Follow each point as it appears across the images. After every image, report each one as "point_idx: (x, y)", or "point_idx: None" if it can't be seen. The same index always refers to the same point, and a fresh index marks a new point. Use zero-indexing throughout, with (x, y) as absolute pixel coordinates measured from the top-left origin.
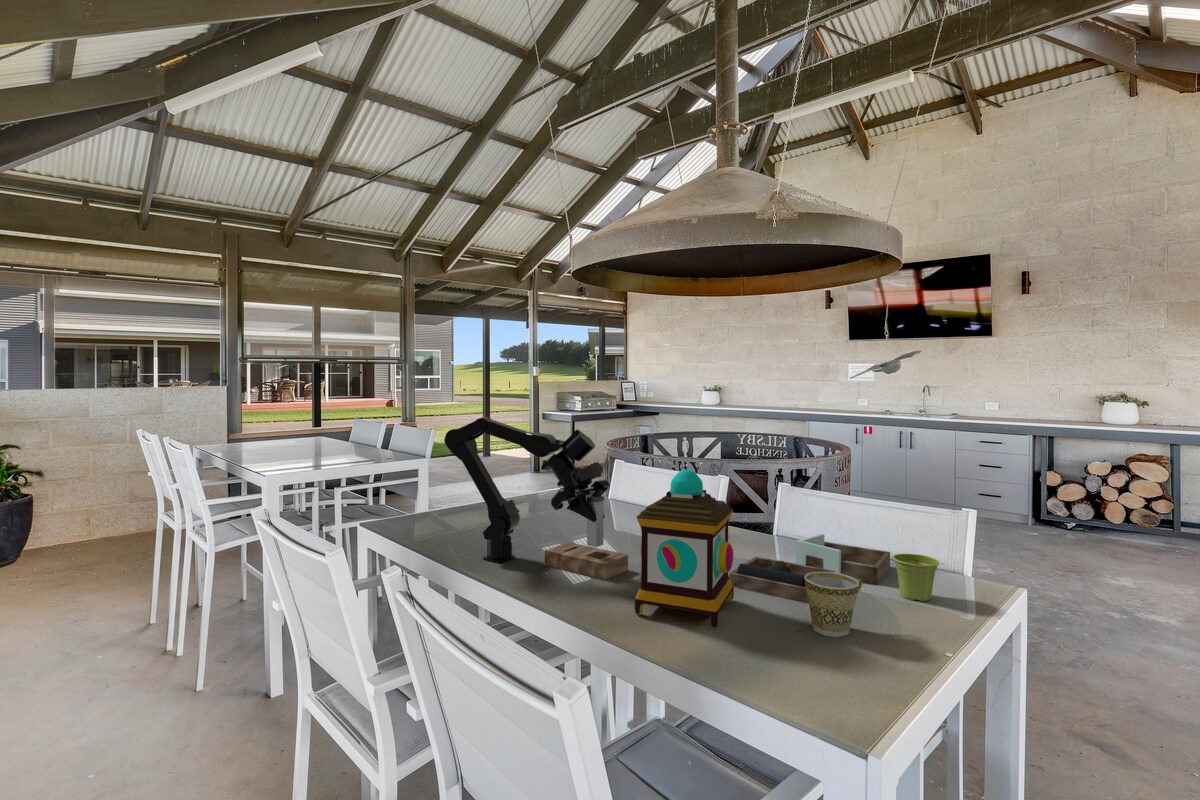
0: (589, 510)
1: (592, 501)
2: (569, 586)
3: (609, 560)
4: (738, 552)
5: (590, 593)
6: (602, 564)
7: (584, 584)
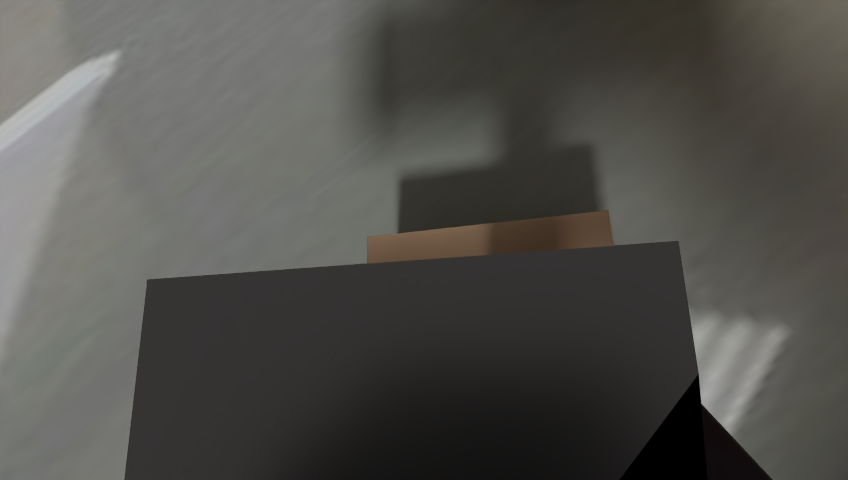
0: (732, 438)
1: (677, 472)
2: (843, 320)
3: (531, 242)
4: (11, 84)
5: (823, 157)
6: (611, 236)
7: (740, 275)
